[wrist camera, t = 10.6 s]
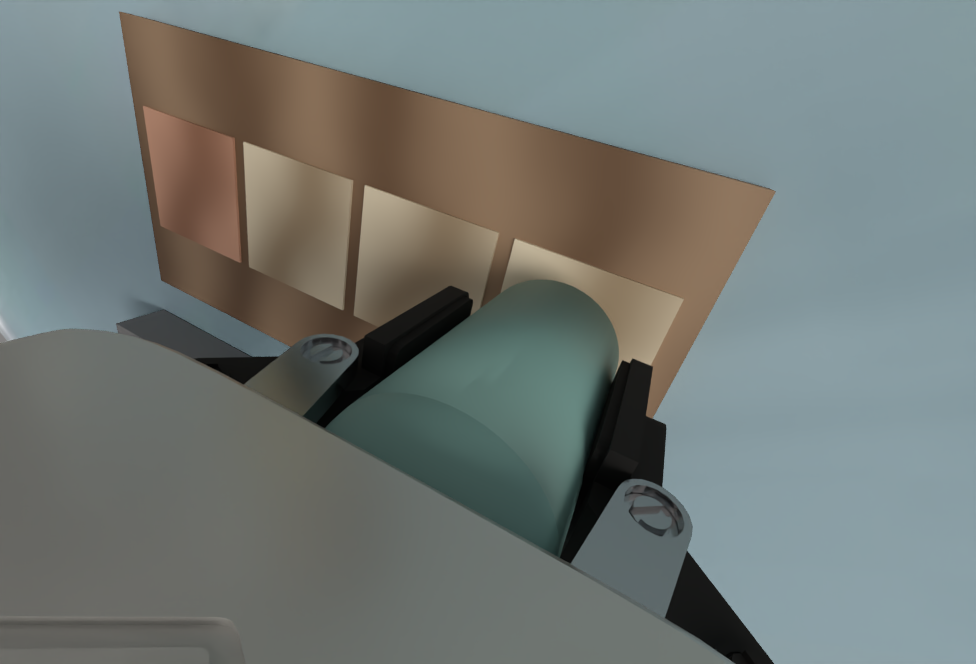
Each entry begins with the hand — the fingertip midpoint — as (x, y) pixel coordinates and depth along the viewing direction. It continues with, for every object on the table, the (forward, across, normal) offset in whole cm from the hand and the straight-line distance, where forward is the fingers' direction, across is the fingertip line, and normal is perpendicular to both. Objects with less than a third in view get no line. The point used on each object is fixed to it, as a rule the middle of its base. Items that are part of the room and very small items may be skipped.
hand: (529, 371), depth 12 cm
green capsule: (+2, 0, 0) cm, 2 cm away
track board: (+4, +9, 0) cm, 10 cm away
